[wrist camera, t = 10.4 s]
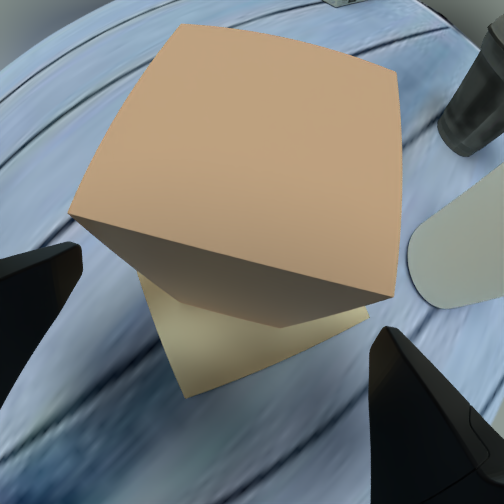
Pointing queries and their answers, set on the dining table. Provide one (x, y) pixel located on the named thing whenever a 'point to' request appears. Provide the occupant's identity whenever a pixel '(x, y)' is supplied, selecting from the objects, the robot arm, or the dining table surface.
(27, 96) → the dining table surface
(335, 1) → the light bulb box
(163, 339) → the brass board
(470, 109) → the beverage cup
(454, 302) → the can
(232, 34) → the tall block
